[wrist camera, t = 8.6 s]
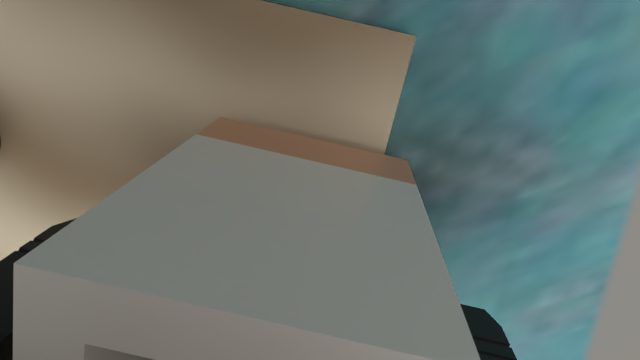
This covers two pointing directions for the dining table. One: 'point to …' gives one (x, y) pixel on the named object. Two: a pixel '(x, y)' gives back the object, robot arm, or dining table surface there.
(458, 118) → the dining table surface
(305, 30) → the pin board
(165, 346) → the sleeve
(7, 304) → the robot arm
